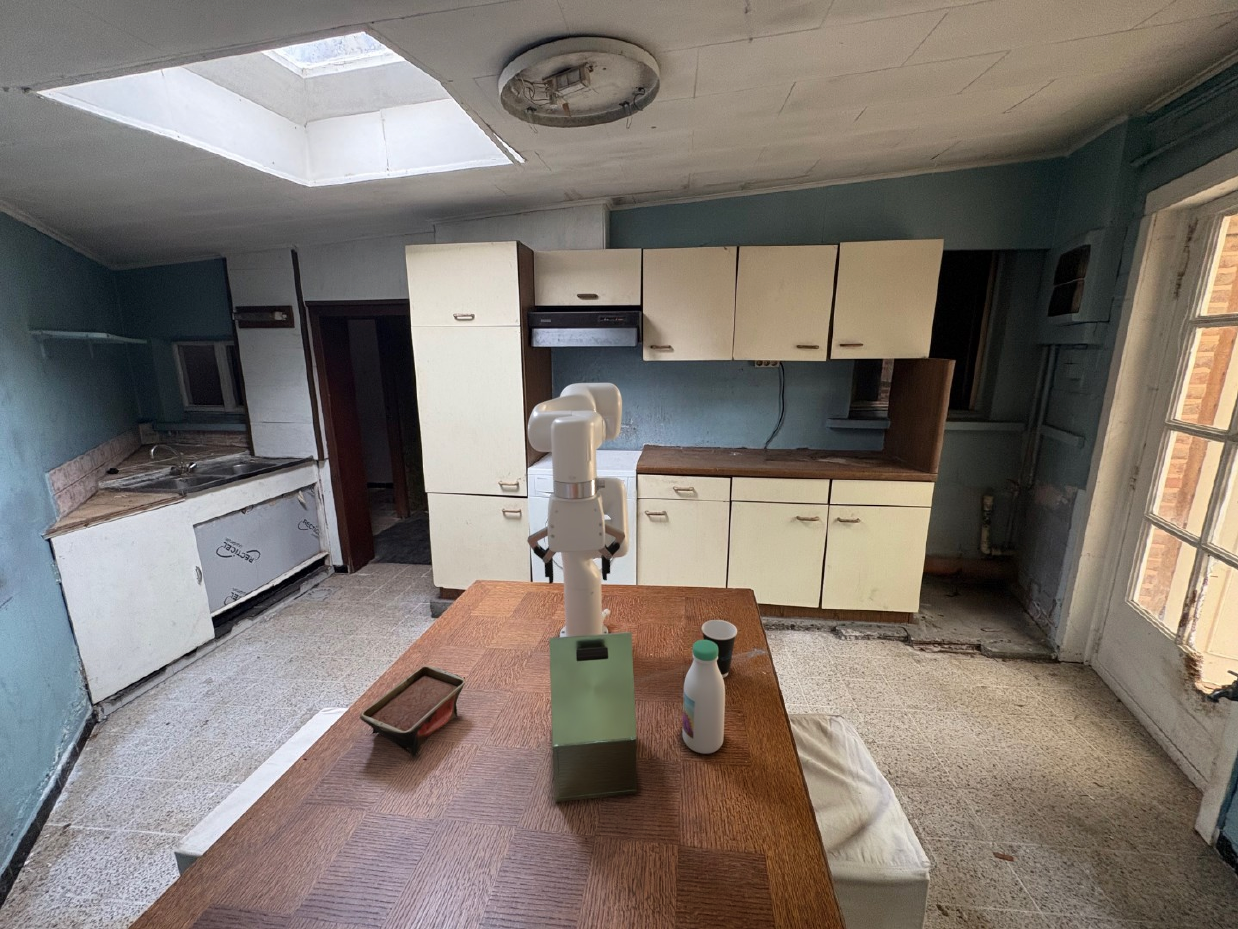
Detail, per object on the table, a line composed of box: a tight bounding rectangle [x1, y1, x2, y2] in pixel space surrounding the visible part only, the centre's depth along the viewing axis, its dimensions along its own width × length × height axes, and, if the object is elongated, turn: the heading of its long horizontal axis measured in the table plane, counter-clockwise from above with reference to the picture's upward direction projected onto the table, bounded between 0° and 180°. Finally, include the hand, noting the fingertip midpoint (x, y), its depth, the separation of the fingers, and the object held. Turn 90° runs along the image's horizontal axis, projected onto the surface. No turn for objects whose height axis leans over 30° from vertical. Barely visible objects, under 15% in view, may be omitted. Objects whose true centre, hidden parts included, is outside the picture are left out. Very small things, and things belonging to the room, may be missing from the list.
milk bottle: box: [682, 639, 726, 755], centre depth 93 cm, size 8×8×20 cm
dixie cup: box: [701, 619, 738, 679], centre depth 114 cm, size 8×8×11 cm
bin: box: [552, 737, 638, 803], centre depth 90 cm, size 16×14×11 cm
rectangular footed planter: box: [359, 665, 466, 758], centre depth 99 cm, size 14×18×10 cm
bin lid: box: [548, 631, 638, 746], centre depth 80 cm, size 16×14×5 cm
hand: (578, 578), depth 91 cm, fingers open, 9 cm apart
